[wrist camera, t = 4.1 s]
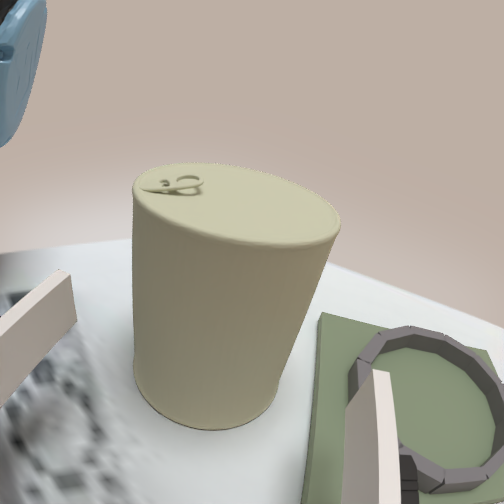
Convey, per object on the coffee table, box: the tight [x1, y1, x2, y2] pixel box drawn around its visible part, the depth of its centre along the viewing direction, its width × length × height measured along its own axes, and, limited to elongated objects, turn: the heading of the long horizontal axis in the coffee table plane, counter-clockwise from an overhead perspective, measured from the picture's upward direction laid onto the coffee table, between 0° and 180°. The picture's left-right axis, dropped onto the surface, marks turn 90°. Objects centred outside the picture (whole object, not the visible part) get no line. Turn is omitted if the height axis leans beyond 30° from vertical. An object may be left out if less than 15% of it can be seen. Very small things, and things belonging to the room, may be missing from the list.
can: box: [132, 163, 341, 430], centre depth 16 cm, size 9×9×12 cm
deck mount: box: [301, 312, 504, 504], centre depth 17 cm, size 18×16×2 cm
